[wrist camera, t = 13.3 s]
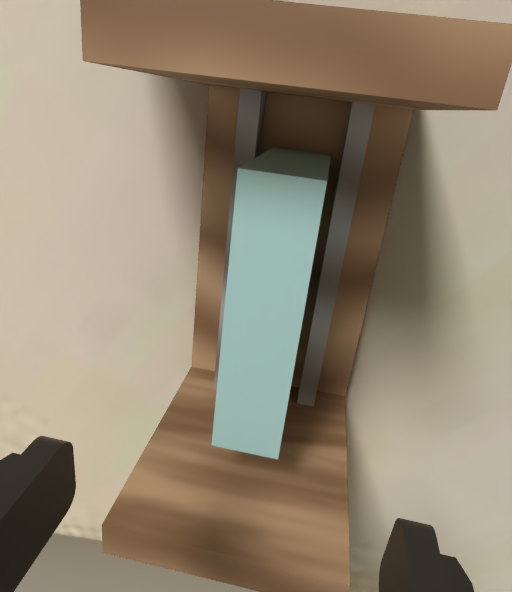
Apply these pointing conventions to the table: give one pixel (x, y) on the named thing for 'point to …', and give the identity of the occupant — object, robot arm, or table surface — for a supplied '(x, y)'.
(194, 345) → the slotted wooden stand
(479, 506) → the table surface
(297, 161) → the pale teal rectangular block
